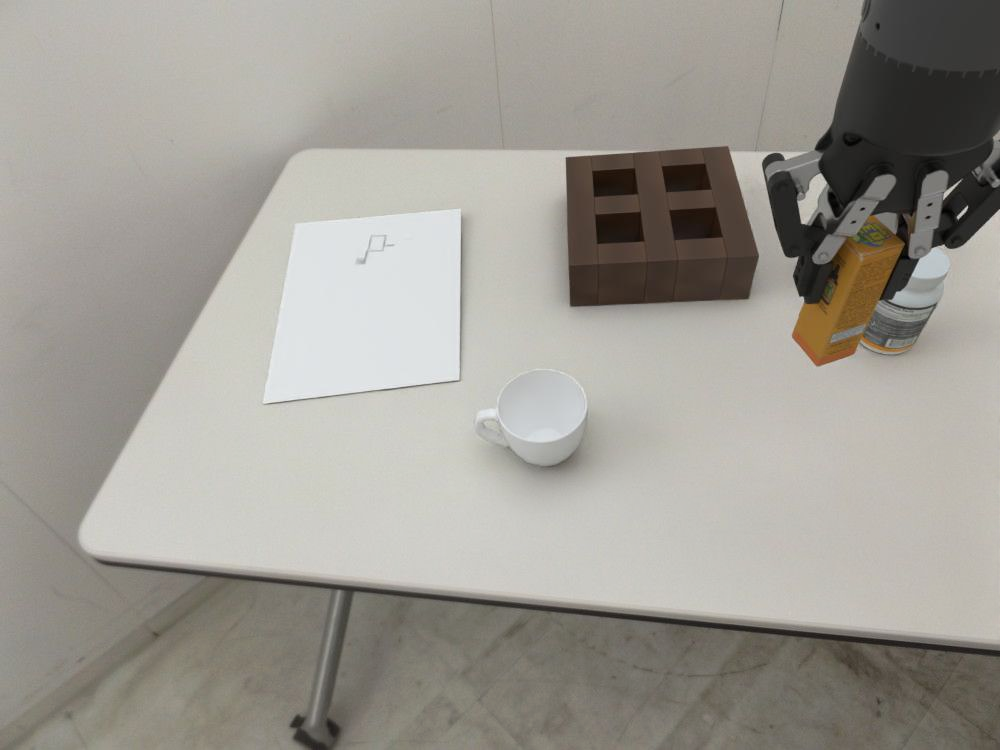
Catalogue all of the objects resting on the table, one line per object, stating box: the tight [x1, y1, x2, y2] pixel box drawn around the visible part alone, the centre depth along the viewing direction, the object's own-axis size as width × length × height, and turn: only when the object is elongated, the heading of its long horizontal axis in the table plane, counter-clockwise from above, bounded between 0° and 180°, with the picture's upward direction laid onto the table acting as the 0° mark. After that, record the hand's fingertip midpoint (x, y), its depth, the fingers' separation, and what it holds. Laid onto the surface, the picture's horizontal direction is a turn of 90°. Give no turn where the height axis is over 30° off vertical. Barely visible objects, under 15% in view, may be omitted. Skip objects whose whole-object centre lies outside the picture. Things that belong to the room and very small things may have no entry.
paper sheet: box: [262, 208, 462, 405], centre depth 78 cm, size 24×29×1 cm
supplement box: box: [791, 216, 905, 368], centre depth 44 cm, size 3×3×10 cm
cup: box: [473, 368, 589, 467], centre depth 61 cm, size 8×10×7 cm
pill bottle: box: [859, 247, 951, 355], centre depth 63 cm, size 6×6×10 cm
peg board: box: [565, 145, 760, 307], centre depth 76 cm, size 19×19×6 cm
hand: (844, 292), depth 44 cm, fingers closed on supplement box, 4 cm apart
